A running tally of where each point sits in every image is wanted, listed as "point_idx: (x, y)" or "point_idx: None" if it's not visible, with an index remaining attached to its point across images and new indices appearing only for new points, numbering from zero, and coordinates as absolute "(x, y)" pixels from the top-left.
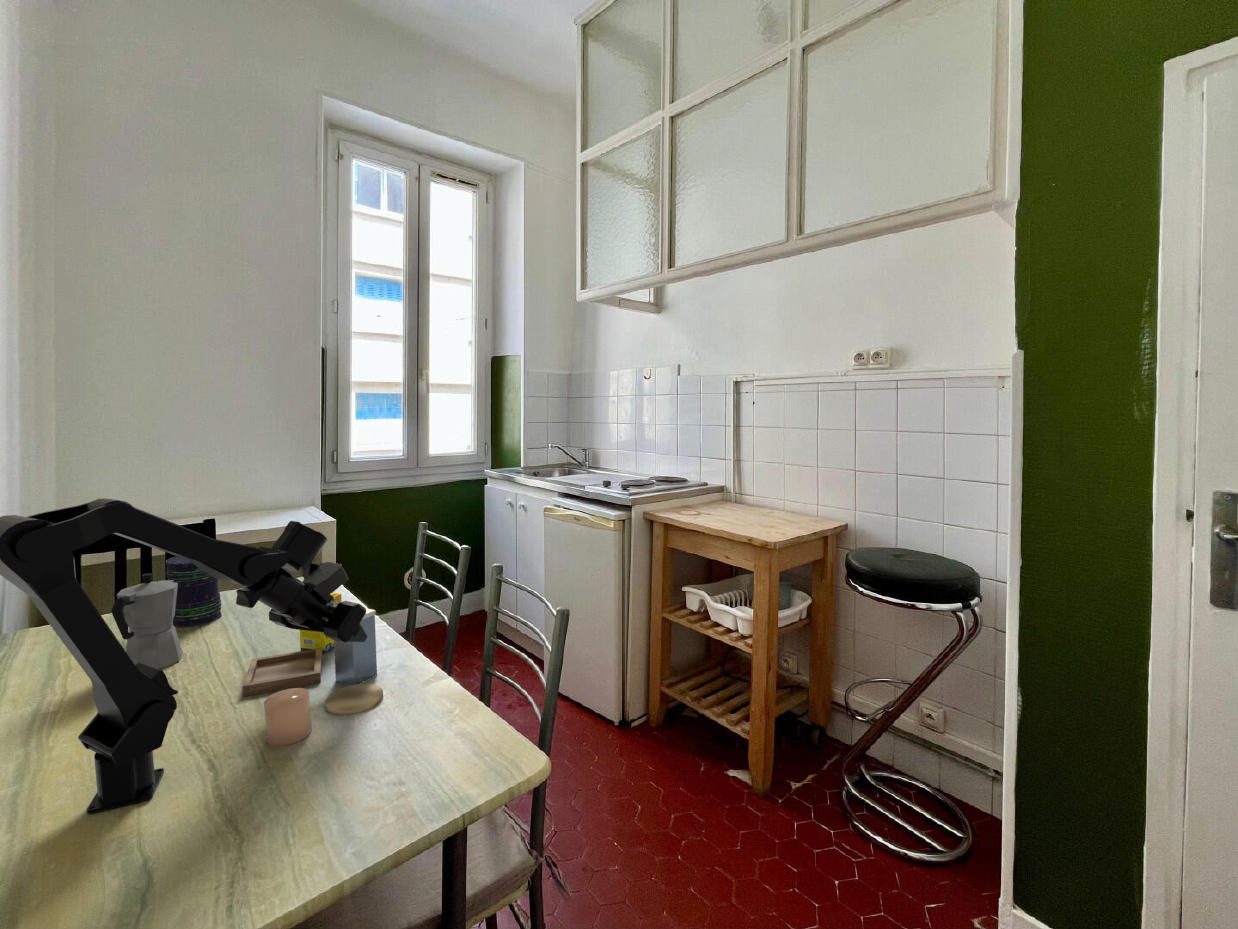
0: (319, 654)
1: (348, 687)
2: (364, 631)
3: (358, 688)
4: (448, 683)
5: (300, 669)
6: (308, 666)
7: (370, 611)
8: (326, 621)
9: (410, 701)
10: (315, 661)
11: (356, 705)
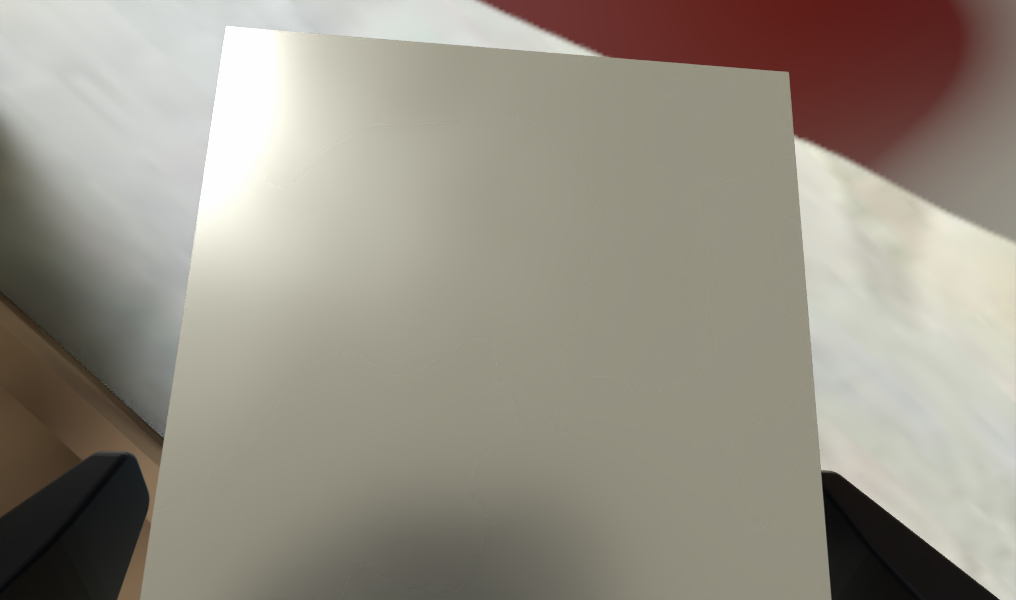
0: (2, 343)
1: None
2: (966, 575)
3: None
4: (987, 236)
5: None
6: (32, 457)
7: (764, 150)
8: (18, 575)
9: (983, 483)
10: (72, 445)
11: None
